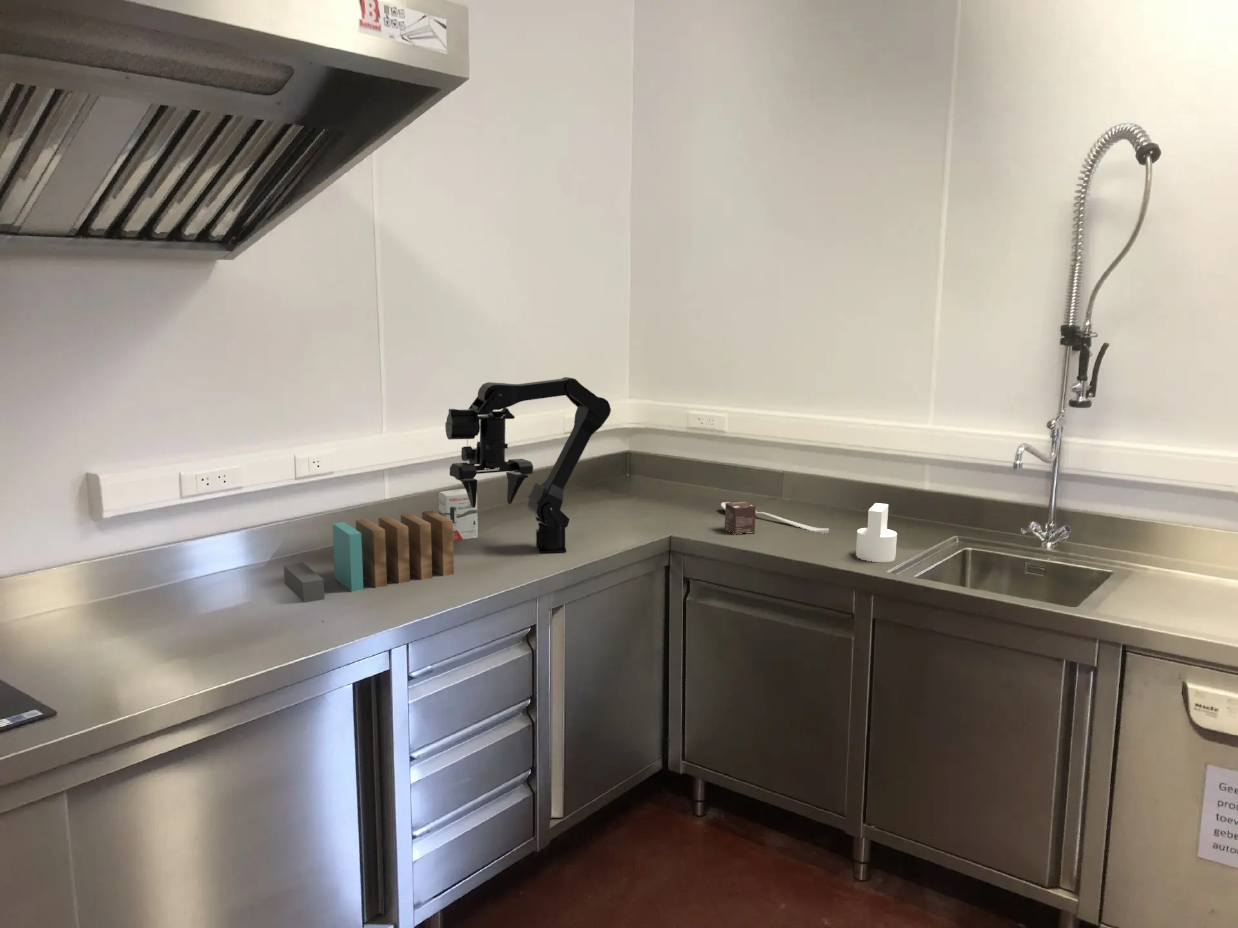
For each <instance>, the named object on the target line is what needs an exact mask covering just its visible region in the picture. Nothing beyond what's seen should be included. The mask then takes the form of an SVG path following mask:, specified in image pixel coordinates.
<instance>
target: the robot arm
mask: <svg viewBox="0 0 1238 928" xmlns="http://www.w3.org/2000/svg"><path fill="white" fill-rule="evenodd" d="M563 396H564V397H565V396H566V398H568V400H569V401H570V402H571V403H572V404H573V405H574V406H575V407H576V409H575V413H574V422H573V428H572V430H571V431H570V434H569V436H568V438H567V439H566V442H565V444H564V446H563V448H562V450H561V451H560V452H559V453H560V454H559V455H558V457H557V459H556V461H555V463H554V464H553V467H552V468H551V471H550V472H549V475H548V477H547V478H546V479H545V481H544V482H542V483H541V484H539V483H537V482H535V483H534V485H533V488H532V491H531V493H530V494H529V495H528V496H527V499H528V502H527V507H528V511H529V512H530V514H532V516H534V518H535V520H536V522H537V529H536V530H535V548H536V549H537V550H538V553H539V554H544V553H545V554H547V553H549V554H550V553H567V547H566V528H568V525H569V522H570V518H569V517H568V516H567V515H566V514H565V513H564V512H562V510H561V509H562V505H563V503H564V496H565V495H564V494H565V489H566V488H565V487H566V486H567V484H568V482H569V480H570V478H571V477H572V474H573V472H574V470H575V469H576V467H577V465H578V462H579V461H580V458H581V457H582V454H583V453H584V451H585V448H586V447H587V445H588V444H589V441H590V439H591V437H592V436H593V435H594V434H595V433H596V432H597V431H598V430H599V429H600V428H602V427H603V425H604V423H605V422H606V421H607V419H608V418H609V417H610V414H611V412H612V408H611V405H610V402H609V401H608V400H607V399H606V398H604V397H599V396H597V395H596V394H595V393H593V392H592V391H590V389H588V388H587V387H585V386H584V385H582V384H581V383H580V382H579V381H578V380H577V379H576V378H573V377H570V376H569V377H567V376H566V377H565V376H563V377H562V378H557V379H550V380H542V381H532V382H525V383H506V382H485V383H483V384H481V386H480V387H479V388H478V390H477V397H476V398H475V399H474V400H473V402H472V403H471V404H470V406H469V407H468V408H467V409H457V408H449V409H448V415H447V417H446V422H445V425H444V427H445V434H446V437H447V440H449V441H450V440H474V439H475V438H476V437H477V436H478V435H479V441H477V443H476V448H473V447H472V446H470V445H469V446H467V445H466V446H462V447H461V454H460V455H461V460H462V462H454V463H451V465H450V466H449V476H450V477H453V478H455V480H457V481H459V482H461V483H462V486H463V487H464V489H466V492H467V495H468V498H469V501H470V503H471V506H472V507H473V508H475V506H476V496H477V497H478V479H476V478H475V477H477V474H478V475H479V474H493V473H505V474H506V477H507V495H506V499H507V504H508V505H512V503H513V501H514V498H515V496H516V494H517V492H518V490H519V489H520V487H521V485H522V484H523V482H524V481H525V479H527V478H529V475H532V474H534V465H533V463H532V461H530V460H527V459H524V458H513V459H512V458H510V459H508V460H507V461H506V450H507V449H508V448H509V447H508V446H509V444H508V443H506V420H514V419H515V417H516V416H515V415H514V414H513V413H511V411H510V410H509V407H513V406H515V405H516V404H519V403H522V402H524V401H525V402H526V401H534V400H541V399H548V398H556V397H563Z"/></svg>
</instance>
